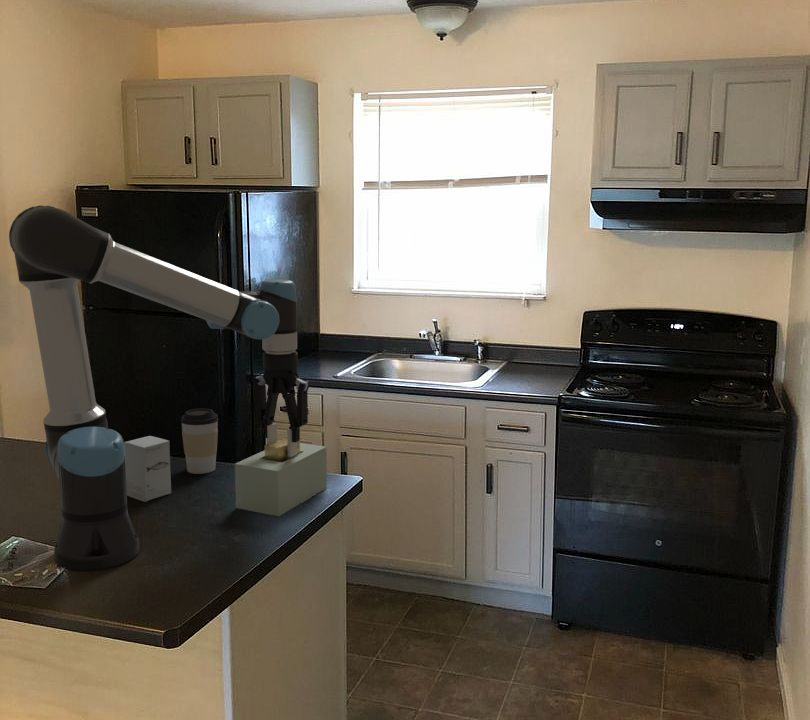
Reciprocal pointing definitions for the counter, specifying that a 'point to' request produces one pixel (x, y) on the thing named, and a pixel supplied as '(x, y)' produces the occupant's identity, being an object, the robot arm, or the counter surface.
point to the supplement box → (147, 468)
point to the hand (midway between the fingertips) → (282, 453)
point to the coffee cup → (200, 440)
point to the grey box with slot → (280, 480)
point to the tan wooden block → (278, 450)
